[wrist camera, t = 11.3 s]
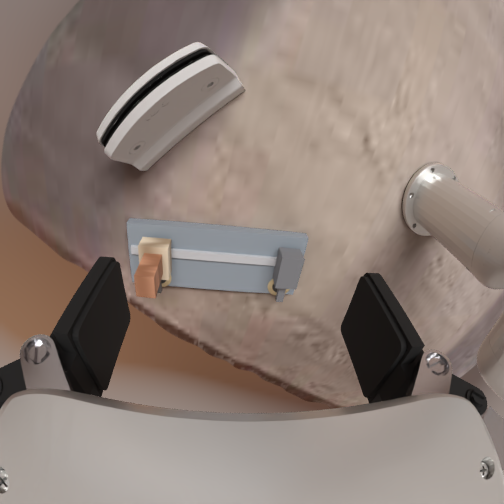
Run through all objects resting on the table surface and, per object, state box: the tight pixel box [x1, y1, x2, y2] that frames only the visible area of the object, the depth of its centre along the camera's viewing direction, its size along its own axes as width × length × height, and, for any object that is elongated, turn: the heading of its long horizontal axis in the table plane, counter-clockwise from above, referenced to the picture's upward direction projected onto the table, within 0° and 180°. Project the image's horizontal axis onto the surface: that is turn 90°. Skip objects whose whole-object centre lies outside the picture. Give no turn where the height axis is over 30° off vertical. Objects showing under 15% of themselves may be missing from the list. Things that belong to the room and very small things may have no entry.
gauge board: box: [127, 218, 308, 302], centre depth 38 cm, size 25×10×5 cm, turn 82°
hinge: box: [96, 42, 245, 171], centre depth 26 cm, size 17×5×10 cm, turn 127°
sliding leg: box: [134, 237, 172, 298], centre depth 35 cm, size 4×8×8 cm, turn 172°
